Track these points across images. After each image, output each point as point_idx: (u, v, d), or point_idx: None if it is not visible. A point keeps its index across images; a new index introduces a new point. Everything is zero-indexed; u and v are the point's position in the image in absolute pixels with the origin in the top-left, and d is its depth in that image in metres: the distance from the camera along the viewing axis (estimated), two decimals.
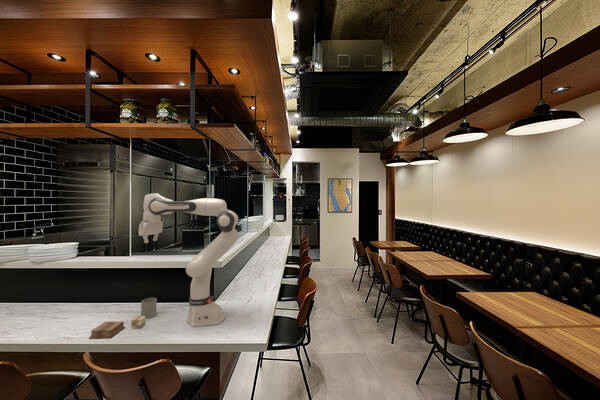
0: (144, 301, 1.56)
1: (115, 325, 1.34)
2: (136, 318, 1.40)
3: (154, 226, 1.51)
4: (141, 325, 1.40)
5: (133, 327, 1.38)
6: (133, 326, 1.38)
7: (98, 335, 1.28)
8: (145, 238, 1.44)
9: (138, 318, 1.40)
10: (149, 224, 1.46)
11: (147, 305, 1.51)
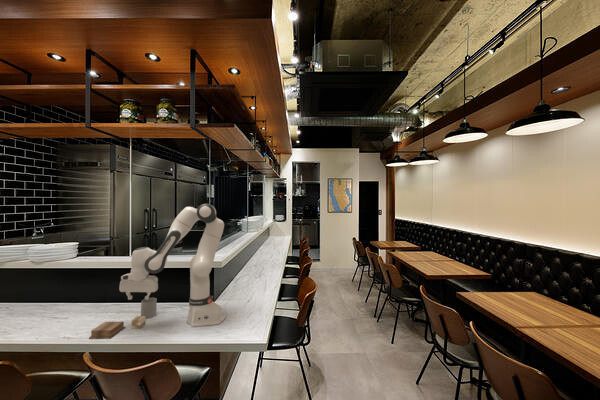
0: (144, 301, 1.56)
1: (115, 325, 1.34)
2: (136, 318, 1.40)
3: None
4: (141, 325, 1.40)
5: (133, 327, 1.38)
6: (133, 326, 1.38)
7: (98, 335, 1.28)
8: (149, 294, 1.42)
9: (138, 318, 1.40)
10: None
11: (147, 305, 1.51)
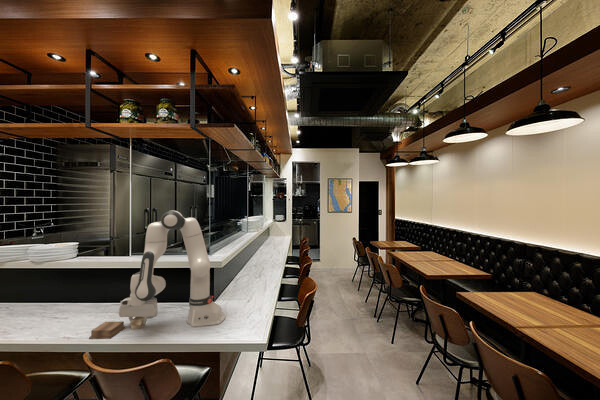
0: None
1: (115, 325, 1.34)
2: (136, 318, 1.40)
3: None
4: (141, 325, 1.40)
5: (133, 327, 1.38)
6: (133, 326, 1.38)
7: (98, 335, 1.28)
8: (146, 318, 1.41)
9: (138, 318, 1.40)
10: None
11: None
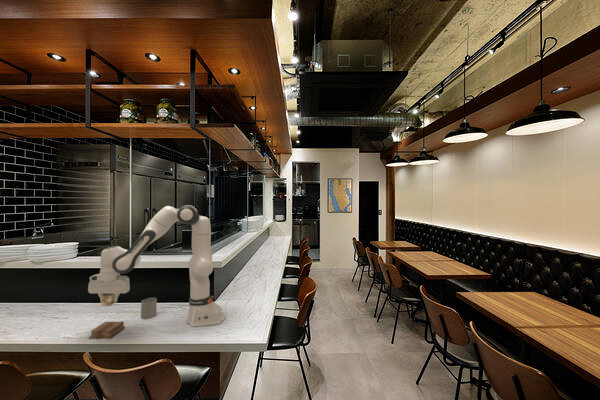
0: (144, 301, 1.56)
1: (115, 325, 1.34)
2: (106, 295, 1.33)
3: None
4: (111, 302, 1.33)
5: (103, 304, 1.31)
6: (103, 303, 1.31)
7: (98, 335, 1.28)
8: (118, 295, 1.34)
9: (109, 295, 1.33)
10: None
11: (147, 305, 1.51)
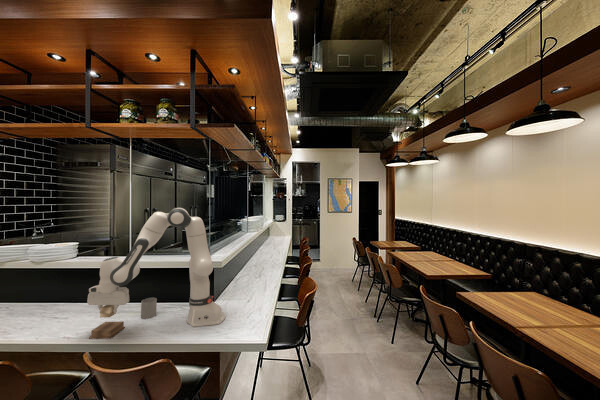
0: (144, 301, 1.56)
1: (115, 325, 1.34)
2: (106, 306, 1.33)
3: None
4: (111, 313, 1.32)
5: (102, 315, 1.31)
6: (102, 314, 1.31)
7: (98, 335, 1.28)
8: (117, 307, 1.34)
9: (108, 306, 1.33)
10: None
11: (147, 305, 1.51)
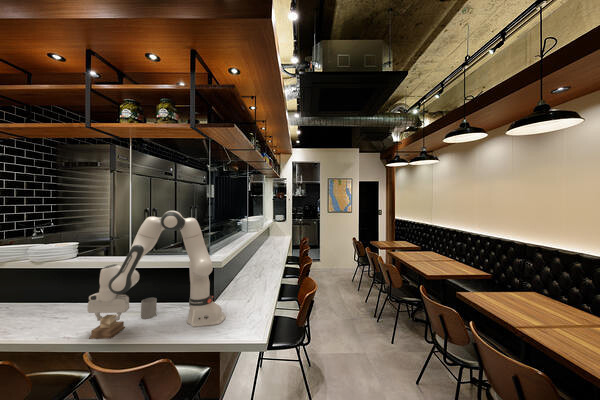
0: (144, 301, 1.56)
1: (115, 325, 1.34)
2: (106, 316, 1.33)
3: None
4: (111, 324, 1.32)
5: (102, 326, 1.31)
6: (102, 325, 1.31)
7: (98, 335, 1.28)
8: (120, 314, 1.34)
9: (108, 316, 1.33)
10: None
11: (147, 305, 1.51)
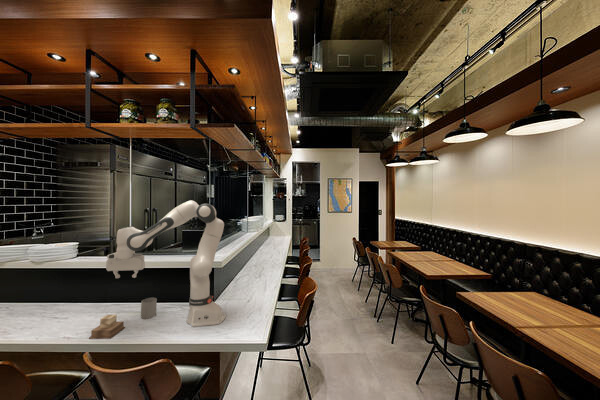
0: (144, 301, 1.56)
1: (115, 325, 1.34)
2: (106, 316, 1.33)
3: None
4: (111, 324, 1.32)
5: (102, 326, 1.31)
6: (102, 325, 1.31)
7: (98, 335, 1.28)
8: (137, 272, 1.44)
9: (108, 316, 1.33)
10: None
11: (147, 305, 1.51)
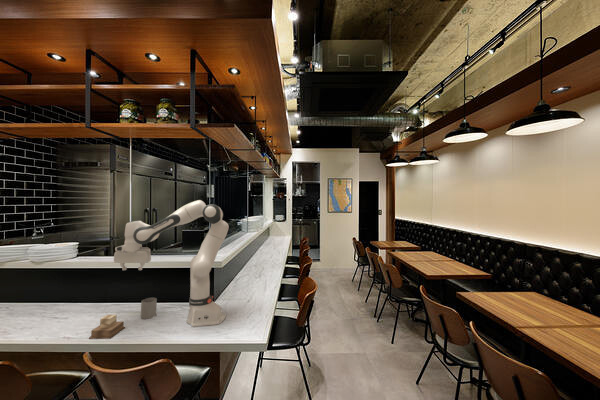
0: (144, 301, 1.56)
1: (115, 325, 1.34)
2: (106, 316, 1.33)
3: None
4: (111, 324, 1.32)
5: (102, 326, 1.31)
6: (102, 325, 1.31)
7: (98, 335, 1.28)
8: (143, 265, 1.48)
9: (108, 316, 1.33)
10: None
11: (147, 305, 1.51)
